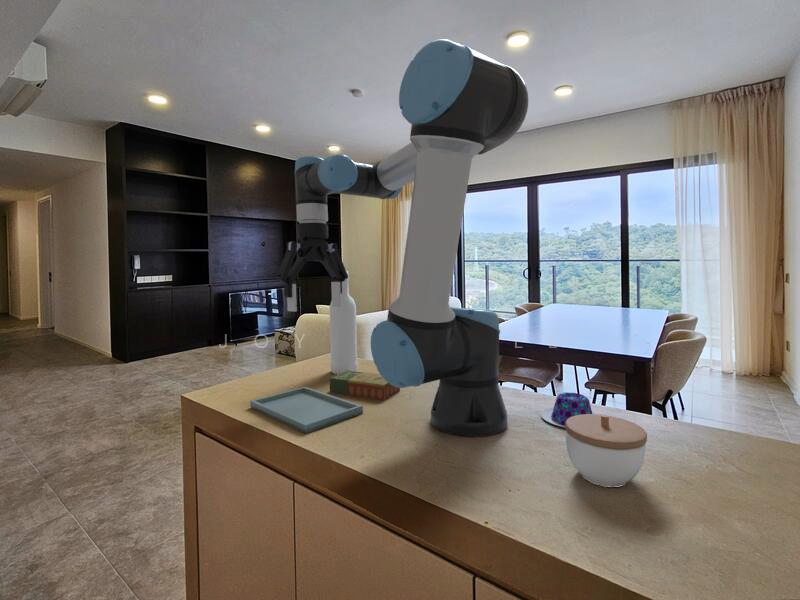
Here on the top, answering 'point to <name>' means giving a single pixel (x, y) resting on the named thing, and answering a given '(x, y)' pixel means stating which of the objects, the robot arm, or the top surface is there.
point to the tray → (306, 408)
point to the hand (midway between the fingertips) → (315, 308)
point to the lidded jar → (605, 448)
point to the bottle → (343, 333)
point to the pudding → (567, 408)
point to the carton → (362, 385)
